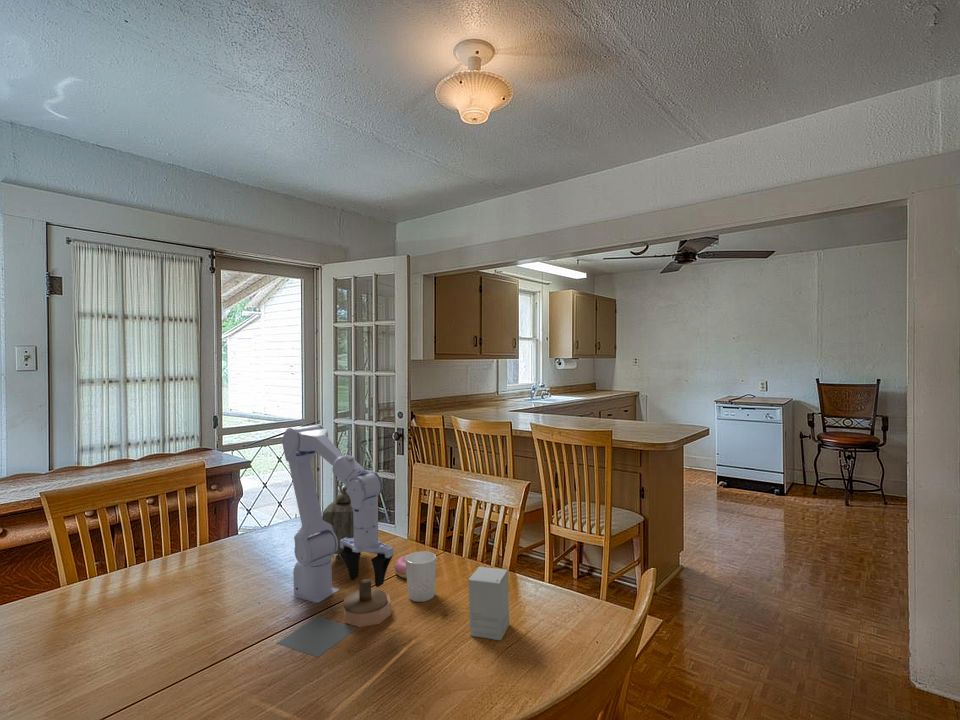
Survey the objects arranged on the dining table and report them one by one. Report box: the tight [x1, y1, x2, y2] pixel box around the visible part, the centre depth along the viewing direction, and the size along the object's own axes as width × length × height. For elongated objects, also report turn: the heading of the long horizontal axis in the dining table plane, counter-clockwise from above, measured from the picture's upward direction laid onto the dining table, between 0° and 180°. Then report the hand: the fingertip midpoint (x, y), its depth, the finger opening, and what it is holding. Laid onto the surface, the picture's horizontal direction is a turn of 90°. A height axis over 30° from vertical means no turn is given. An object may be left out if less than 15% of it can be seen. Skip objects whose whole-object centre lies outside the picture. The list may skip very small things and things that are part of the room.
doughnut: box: [393, 553, 410, 580], centre depth 144 cm, size 11×11×4 cm
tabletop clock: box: [322, 480, 354, 561], centre depth 153 cm, size 14×9×25 cm, turn 179°
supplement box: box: [468, 566, 510, 642], centre depth 112 cm, size 7×7×13 cm
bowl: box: [343, 592, 392, 628], centre depth 119 cm, size 11×11×4 cm
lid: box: [343, 578, 387, 614], centre depth 119 cm, size 10×10×5 cm
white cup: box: [405, 550, 437, 603], centre depth 129 cm, size 8×8×10 cm
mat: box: [276, 616, 358, 658], centre depth 111 cm, size 12×12×1 cm
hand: (366, 581), depth 119 cm, fingers open, 7 cm apart
